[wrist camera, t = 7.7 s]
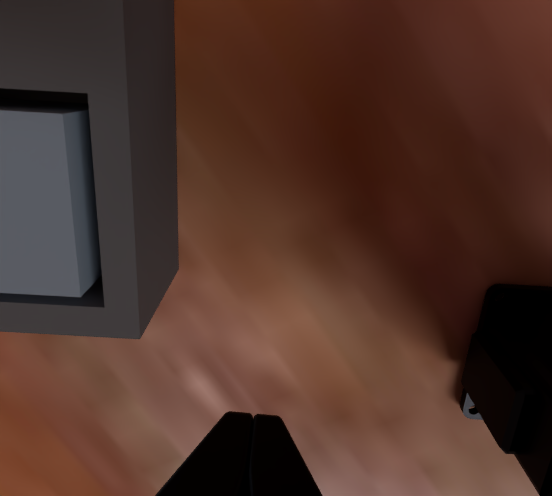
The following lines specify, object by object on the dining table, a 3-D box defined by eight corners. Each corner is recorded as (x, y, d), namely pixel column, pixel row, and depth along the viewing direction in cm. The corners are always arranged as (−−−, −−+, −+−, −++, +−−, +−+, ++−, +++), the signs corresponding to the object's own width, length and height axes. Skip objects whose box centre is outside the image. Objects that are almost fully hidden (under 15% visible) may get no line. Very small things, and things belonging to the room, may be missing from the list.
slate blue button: (119, 105, 15) (62, 113, 11) (127, 246, 17) (80, 297, 13) (-32, 96, 15) (-142, 101, 11) (-9, 239, 17) (-97, 287, 13)
